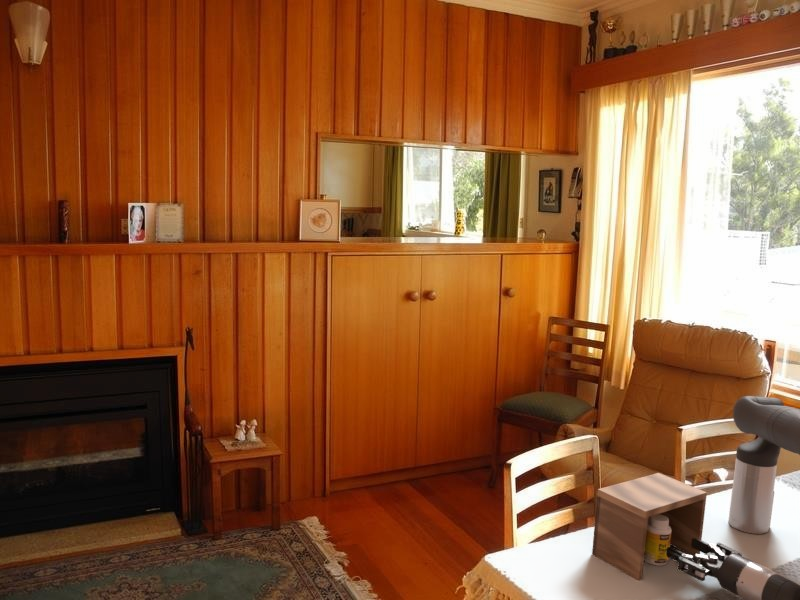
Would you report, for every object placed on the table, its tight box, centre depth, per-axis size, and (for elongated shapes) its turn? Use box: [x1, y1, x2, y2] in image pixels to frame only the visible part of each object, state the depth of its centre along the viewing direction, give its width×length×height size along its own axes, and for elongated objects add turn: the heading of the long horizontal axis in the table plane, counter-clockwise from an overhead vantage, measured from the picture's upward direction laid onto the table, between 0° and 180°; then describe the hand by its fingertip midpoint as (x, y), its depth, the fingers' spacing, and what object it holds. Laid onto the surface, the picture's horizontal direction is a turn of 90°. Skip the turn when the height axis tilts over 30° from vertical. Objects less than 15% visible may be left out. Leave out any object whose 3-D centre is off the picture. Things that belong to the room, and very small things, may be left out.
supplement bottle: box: [644, 514, 672, 567], centre depth 169 cm, size 6×6×10 cm
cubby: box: [591, 472, 708, 581], centre depth 171 cm, size 21×13×16 cm, turn 124°
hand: (680, 546), depth 165 cm, fingers open, 8 cm apart
